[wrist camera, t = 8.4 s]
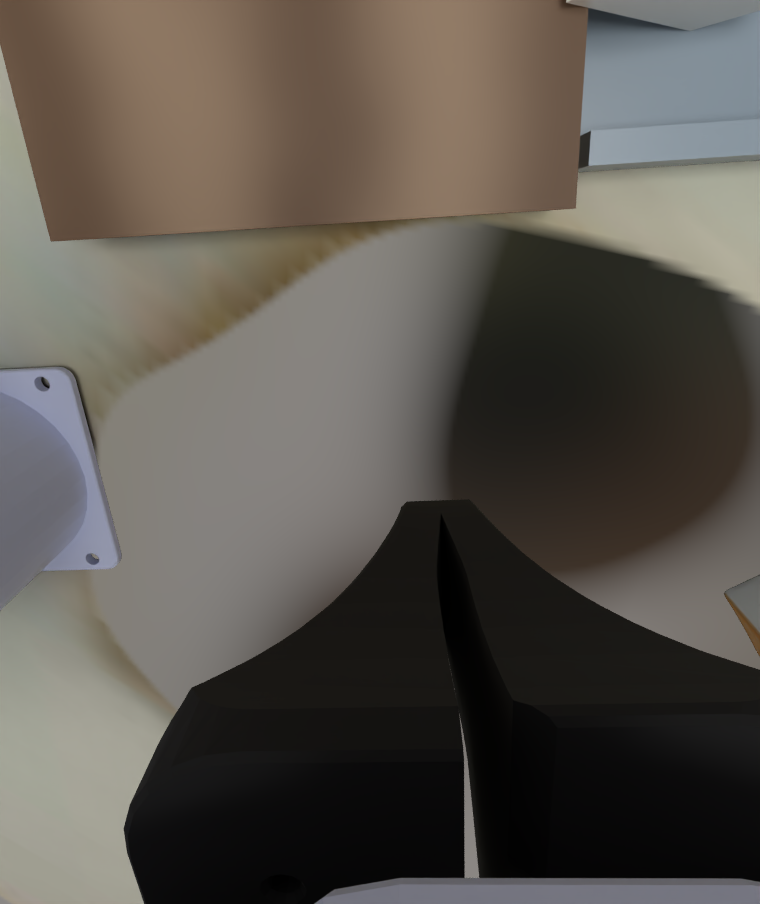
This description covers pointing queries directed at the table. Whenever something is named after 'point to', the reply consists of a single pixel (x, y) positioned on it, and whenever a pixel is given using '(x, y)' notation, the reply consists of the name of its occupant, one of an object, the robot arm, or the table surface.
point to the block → (675, 10)
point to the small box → (747, 607)
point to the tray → (669, 93)
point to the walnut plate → (293, 110)
